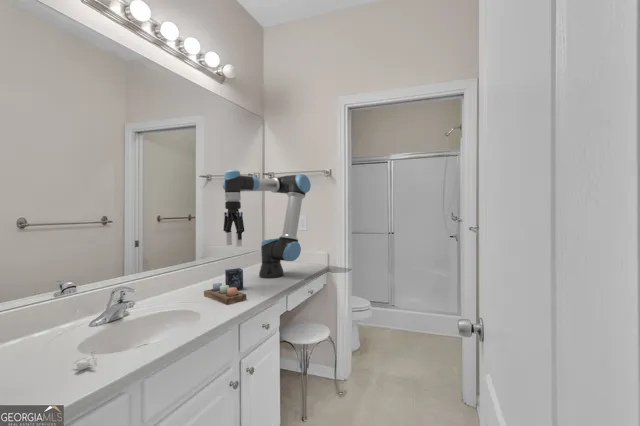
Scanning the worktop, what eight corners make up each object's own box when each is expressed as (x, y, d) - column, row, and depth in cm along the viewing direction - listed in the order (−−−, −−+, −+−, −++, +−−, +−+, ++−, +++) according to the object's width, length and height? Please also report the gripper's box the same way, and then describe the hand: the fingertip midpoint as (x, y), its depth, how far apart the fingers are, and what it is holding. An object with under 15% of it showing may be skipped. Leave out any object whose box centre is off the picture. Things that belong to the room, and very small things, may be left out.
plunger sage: (226, 292, 152) (226, 284, 152) (230, 294, 149) (230, 285, 149) (218, 294, 149) (218, 286, 149) (222, 296, 146) (222, 287, 146)
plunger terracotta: (233, 295, 147) (233, 286, 147) (238, 297, 144) (238, 288, 144) (225, 297, 144) (225, 288, 144) (230, 299, 141) (230, 290, 141)
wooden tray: (222, 291, 160) (222, 286, 160) (246, 299, 144) (246, 294, 144) (204, 295, 153) (203, 290, 153) (226, 304, 137) (226, 298, 137)
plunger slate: (219, 290, 157) (219, 282, 157) (223, 291, 154) (223, 283, 154) (211, 292, 154) (211, 284, 154) (215, 293, 151) (215, 285, 151)
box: (228, 291, 160) (228, 271, 160) (225, 289, 164) (224, 269, 164) (243, 289, 164) (243, 269, 164) (240, 287, 169) (239, 267, 169)
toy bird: (63, 369, 81) (69, 349, 83) (80, 367, 85) (85, 348, 87) (89, 372, 79) (94, 352, 81) (104, 370, 83) (109, 351, 85)
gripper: (215, 201, 164) (216, 245, 164) (237, 200, 149) (238, 247, 149) (228, 201, 169) (229, 243, 169) (251, 200, 154) (252, 246, 154)
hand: (233, 245), depth 159 cm, fingers open, 9 cm apart
